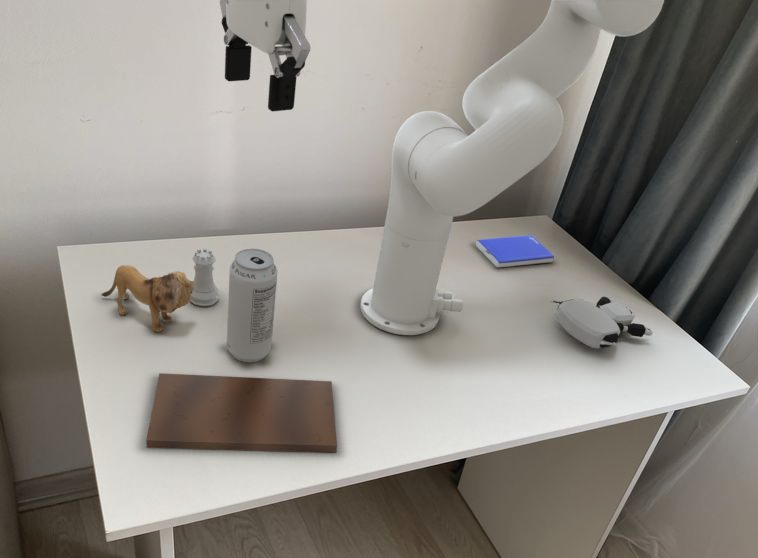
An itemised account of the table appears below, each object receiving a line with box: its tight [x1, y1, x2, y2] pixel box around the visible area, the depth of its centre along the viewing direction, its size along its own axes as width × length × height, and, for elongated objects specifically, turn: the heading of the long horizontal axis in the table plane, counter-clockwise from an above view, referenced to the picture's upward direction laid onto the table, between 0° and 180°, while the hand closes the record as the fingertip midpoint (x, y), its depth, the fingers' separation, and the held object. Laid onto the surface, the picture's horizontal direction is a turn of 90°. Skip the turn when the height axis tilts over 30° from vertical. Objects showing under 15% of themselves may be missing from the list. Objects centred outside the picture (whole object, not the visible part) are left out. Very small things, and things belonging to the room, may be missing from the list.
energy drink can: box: [226, 248, 278, 363], centre depth 97 cm, size 6×6×15 cm
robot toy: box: [548, 295, 653, 349], centre depth 120 cm, size 12×4×15 cm
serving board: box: [145, 372, 338, 453], centre depth 91 cm, size 22×12×1 cm, turn 98°
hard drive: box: [475, 234, 555, 268], centre depth 138 cm, size 2×8×12 cm
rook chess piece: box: [189, 248, 220, 307], centre depth 107 cm, size 4×4×8 cm
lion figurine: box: [100, 264, 195, 333], centre depth 101 cm, size 15×5×9 cm, turn 70°
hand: (258, 94), depth 87 cm, fingers open, 9 cm apart
